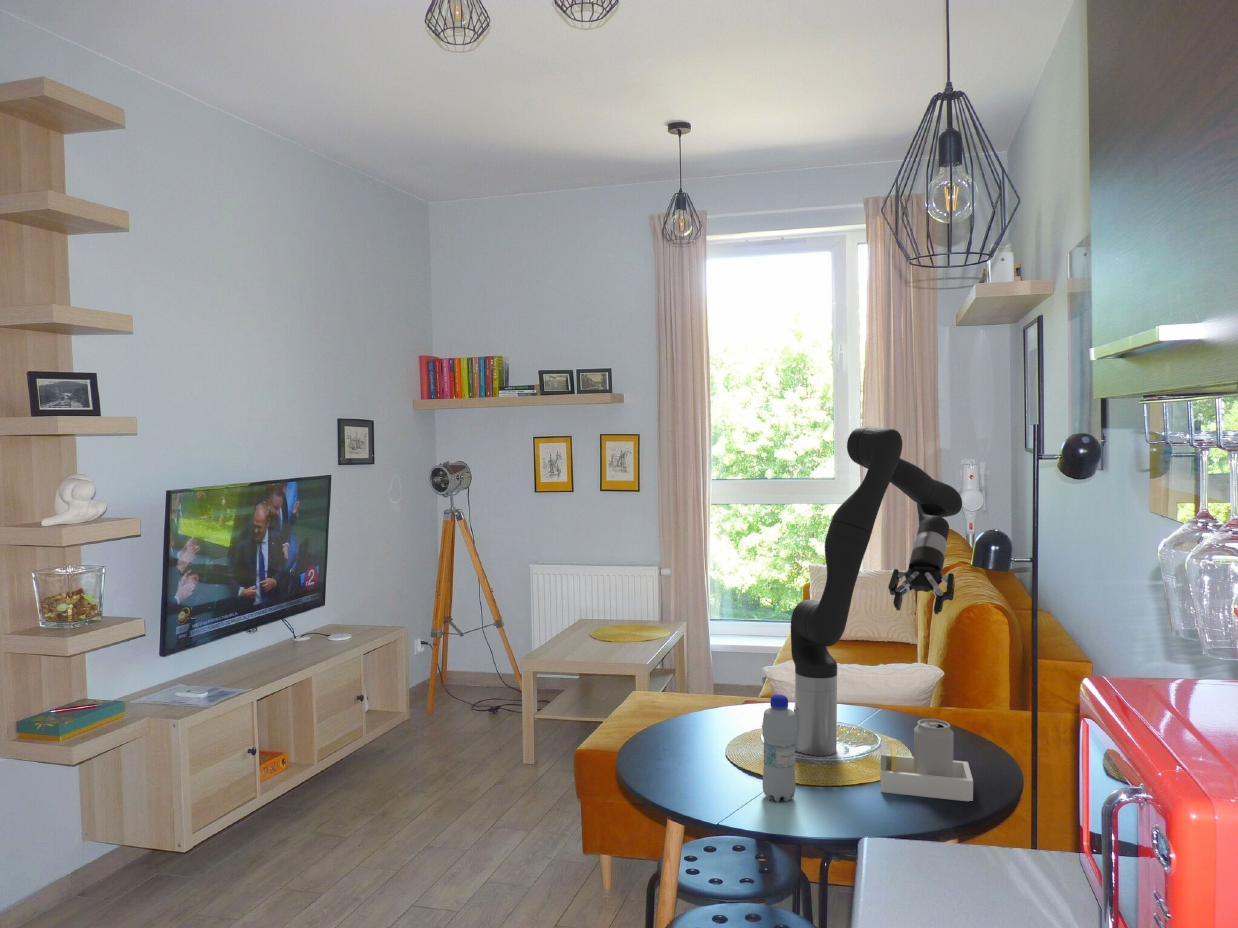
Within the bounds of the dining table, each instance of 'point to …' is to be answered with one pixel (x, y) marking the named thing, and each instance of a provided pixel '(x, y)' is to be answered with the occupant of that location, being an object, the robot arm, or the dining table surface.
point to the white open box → (925, 779)
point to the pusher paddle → (893, 758)
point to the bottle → (779, 749)
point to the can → (933, 748)
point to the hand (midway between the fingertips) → (916, 610)
